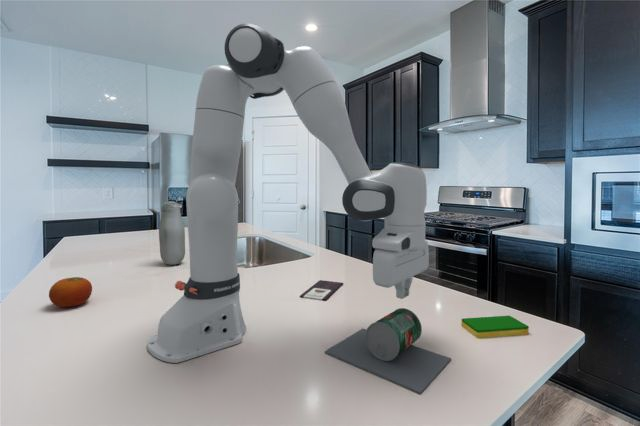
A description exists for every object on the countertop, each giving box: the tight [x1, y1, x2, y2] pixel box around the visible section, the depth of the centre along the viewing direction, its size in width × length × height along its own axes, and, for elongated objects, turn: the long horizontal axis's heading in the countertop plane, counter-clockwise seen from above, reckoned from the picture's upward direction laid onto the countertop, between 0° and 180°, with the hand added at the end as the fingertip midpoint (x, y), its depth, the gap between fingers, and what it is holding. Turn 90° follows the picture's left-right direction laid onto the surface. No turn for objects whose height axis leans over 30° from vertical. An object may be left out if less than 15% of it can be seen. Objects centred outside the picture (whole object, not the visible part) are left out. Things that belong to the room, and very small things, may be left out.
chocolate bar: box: [299, 279, 344, 302], centre depth 116 cm, size 9×1×18 cm
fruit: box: [48, 276, 93, 308], centre depth 102 cm, size 11×10×8 cm
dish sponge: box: [460, 315, 530, 339], centre depth 86 cm, size 7×14×2 cm, turn 98°
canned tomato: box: [365, 307, 423, 361], centre depth 74 cm, size 8×8×11 cm
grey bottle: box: [158, 200, 186, 266], centre depth 149 cm, size 10×10×28 cm
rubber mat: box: [324, 328, 452, 395], centre depth 73 cm, size 15×22×1 cm
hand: (402, 296), depth 77 cm, fingers closed
